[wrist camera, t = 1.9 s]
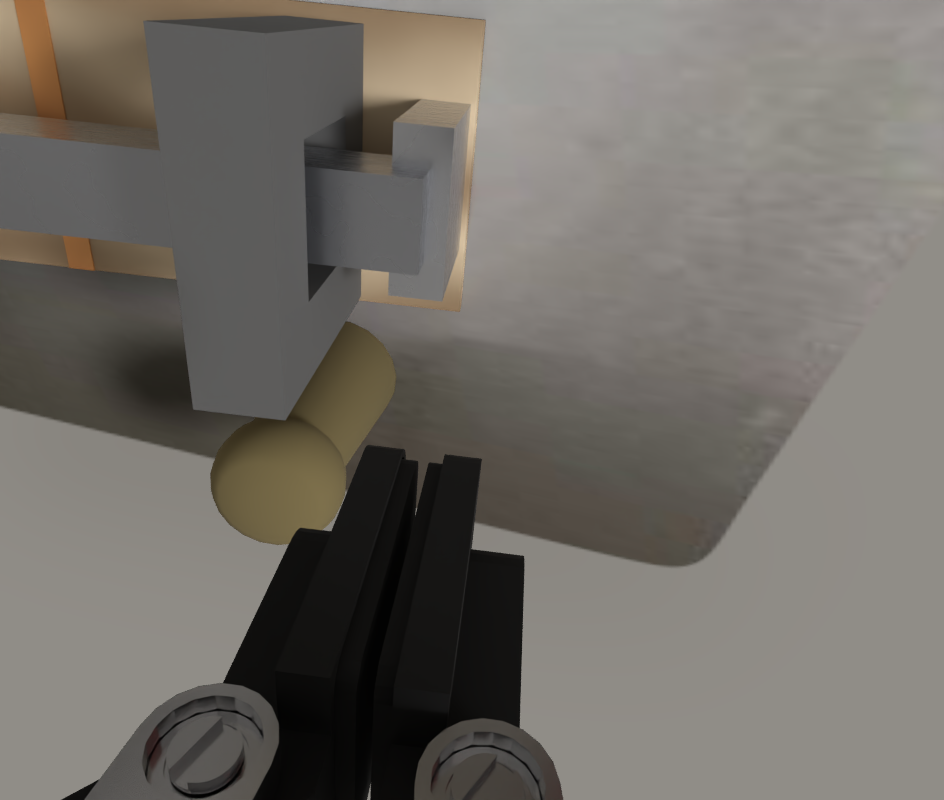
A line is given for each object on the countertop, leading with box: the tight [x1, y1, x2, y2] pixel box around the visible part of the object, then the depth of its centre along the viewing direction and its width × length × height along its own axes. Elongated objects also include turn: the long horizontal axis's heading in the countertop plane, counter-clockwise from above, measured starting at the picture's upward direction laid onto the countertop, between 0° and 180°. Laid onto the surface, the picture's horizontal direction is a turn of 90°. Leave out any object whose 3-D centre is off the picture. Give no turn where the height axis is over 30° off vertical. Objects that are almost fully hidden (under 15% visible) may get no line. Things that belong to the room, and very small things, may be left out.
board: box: [0, 0, 486, 312], centre depth 30 cm, size 12×26×1 cm, turn 85°
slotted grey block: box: [143, 16, 364, 420], centre depth 24 cm, size 11×3×11 cm, turn 175°
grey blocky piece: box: [0, 99, 471, 301], centre depth 26 cm, size 6×26×8 cm, turn 85°
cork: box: [211, 322, 396, 545], centre depth 31 cm, size 6×6×11 cm
